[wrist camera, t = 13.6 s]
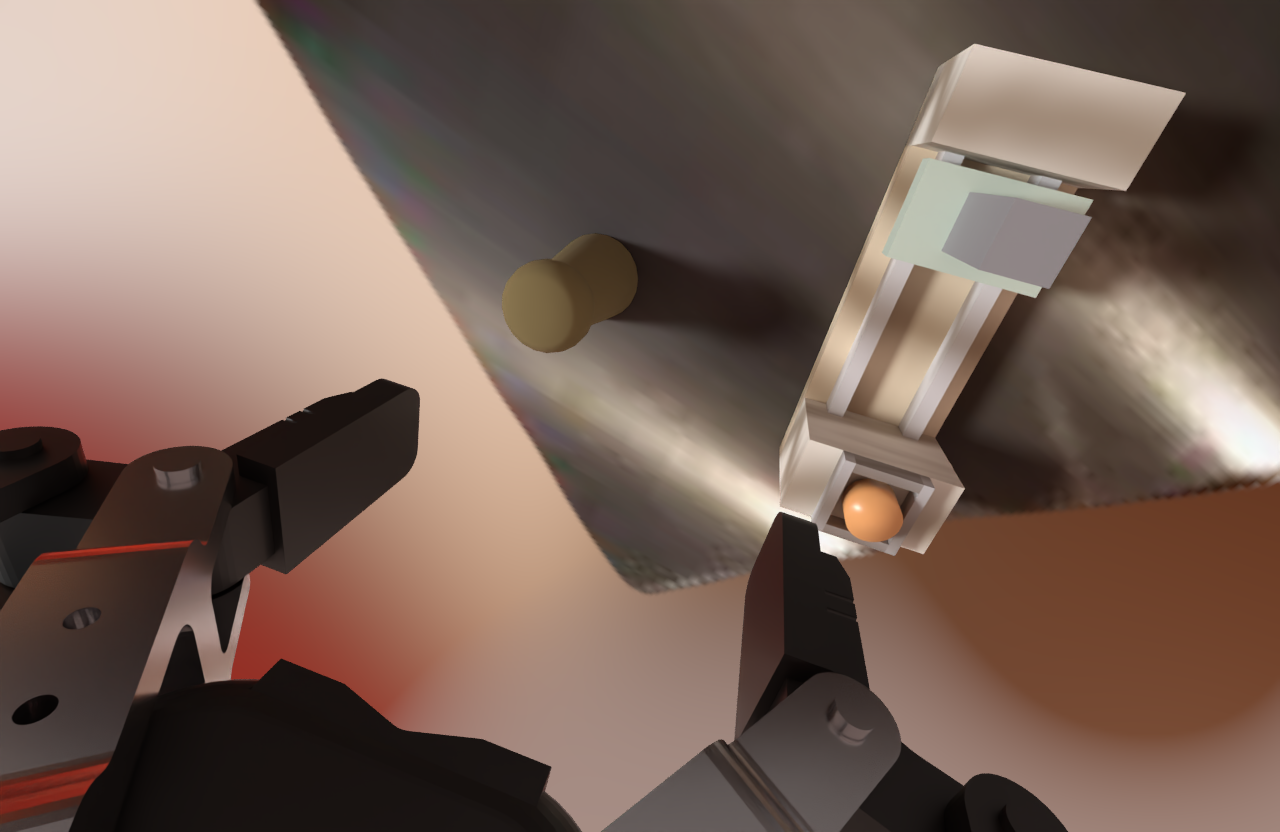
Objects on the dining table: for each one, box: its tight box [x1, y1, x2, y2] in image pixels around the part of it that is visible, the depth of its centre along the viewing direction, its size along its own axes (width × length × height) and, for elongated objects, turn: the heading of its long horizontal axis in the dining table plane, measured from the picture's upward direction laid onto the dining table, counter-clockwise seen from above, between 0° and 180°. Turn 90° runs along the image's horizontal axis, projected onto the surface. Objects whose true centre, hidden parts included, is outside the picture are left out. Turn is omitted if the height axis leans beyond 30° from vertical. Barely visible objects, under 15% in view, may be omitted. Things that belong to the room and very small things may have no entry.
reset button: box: [842, 479, 903, 542], centre depth 31 cm, size 3×3×2 cm
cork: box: [502, 233, 638, 353], centre depth 34 cm, size 6×6×11 cm
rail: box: [779, 44, 1186, 556], centre depth 30 cm, size 25×10×9 cm, turn 166°
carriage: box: [882, 158, 1093, 298], centre depth 26 cm, size 5×8×8 cm, turn 76°
